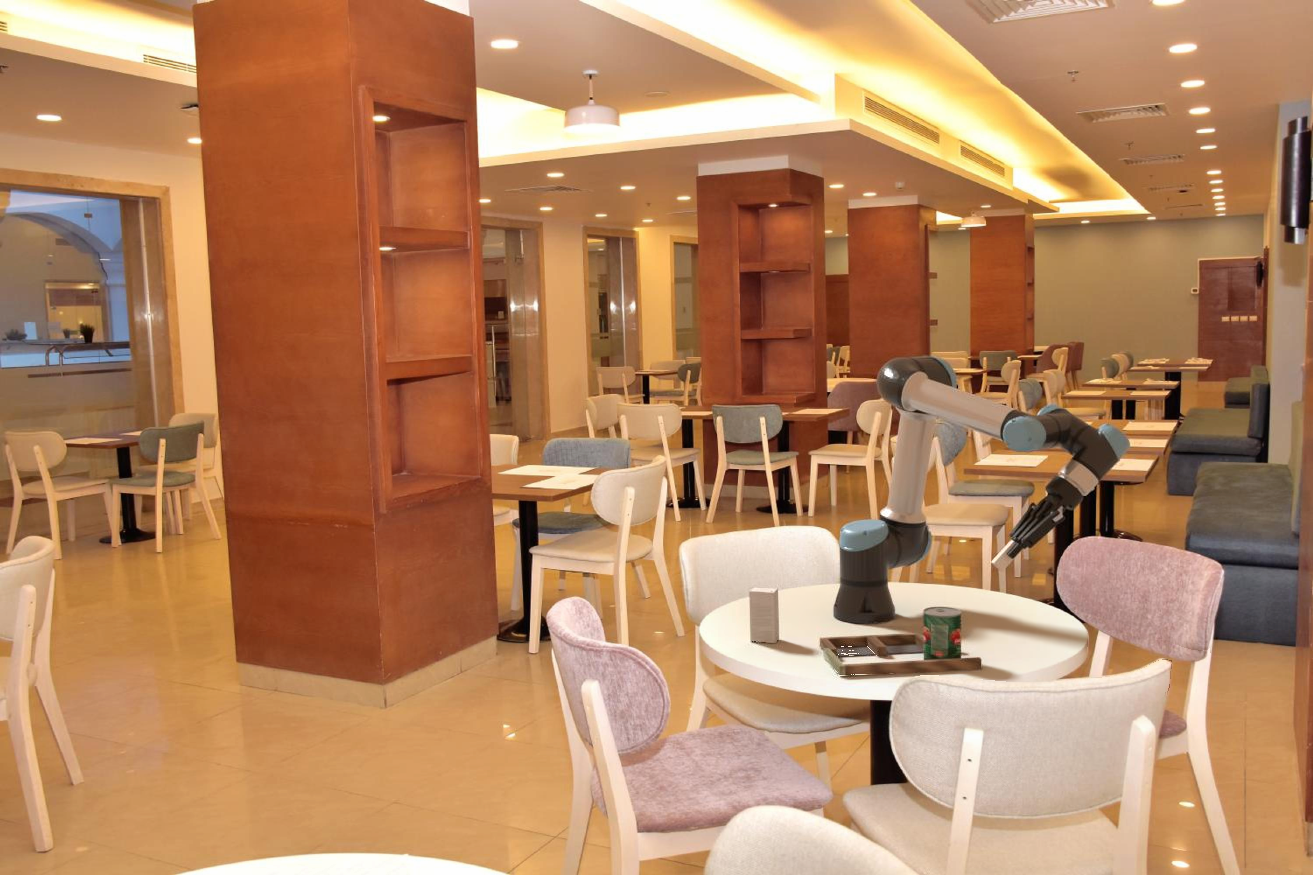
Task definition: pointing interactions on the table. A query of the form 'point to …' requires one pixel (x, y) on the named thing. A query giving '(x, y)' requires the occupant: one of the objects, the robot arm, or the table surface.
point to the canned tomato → (942, 633)
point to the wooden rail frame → (888, 646)
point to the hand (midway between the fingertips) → (996, 566)
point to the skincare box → (764, 615)
